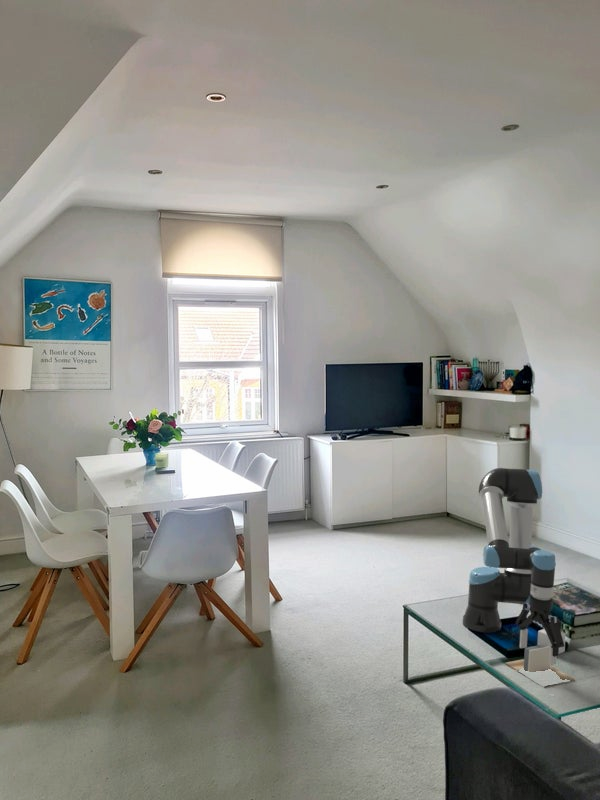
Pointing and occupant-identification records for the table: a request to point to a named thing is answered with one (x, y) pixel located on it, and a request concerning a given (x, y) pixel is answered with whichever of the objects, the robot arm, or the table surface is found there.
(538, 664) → the tile
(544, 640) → the medicine bottle
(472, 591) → the robot arm
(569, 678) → the mat
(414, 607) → the table surface
